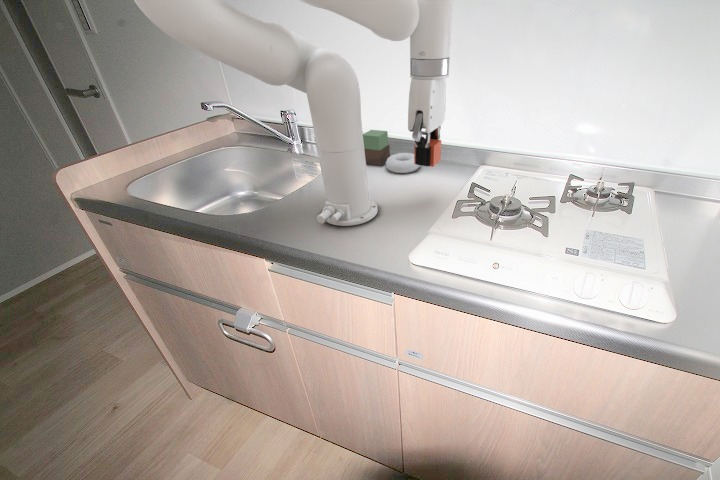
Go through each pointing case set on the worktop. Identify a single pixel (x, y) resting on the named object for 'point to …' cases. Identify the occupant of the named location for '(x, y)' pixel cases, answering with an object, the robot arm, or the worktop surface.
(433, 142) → the toy cube
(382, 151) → the stack base
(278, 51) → the robot arm
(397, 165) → the donut
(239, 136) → the worktop surface
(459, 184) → the worktop surface
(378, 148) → the stack middle
